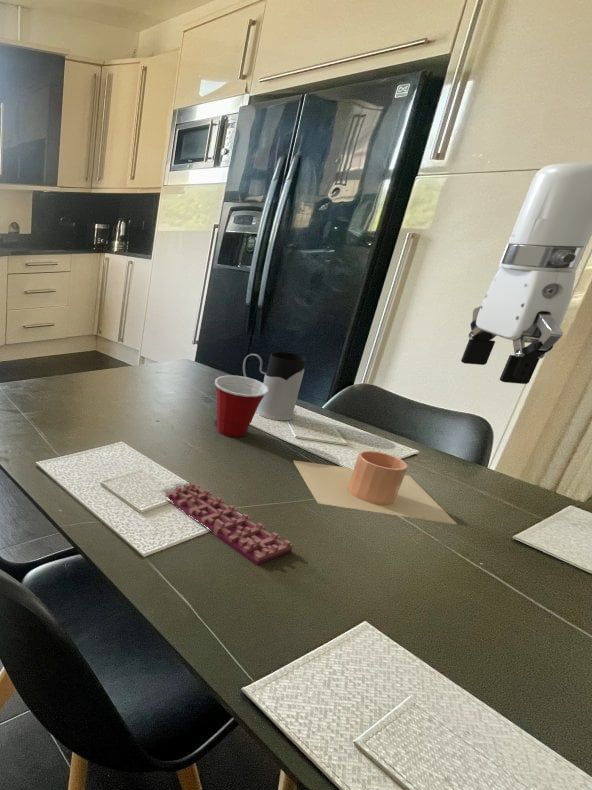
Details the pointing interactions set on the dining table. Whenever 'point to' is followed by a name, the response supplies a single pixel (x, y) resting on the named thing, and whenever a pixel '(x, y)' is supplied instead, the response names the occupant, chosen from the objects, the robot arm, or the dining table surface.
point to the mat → (333, 490)
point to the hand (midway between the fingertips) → (491, 372)
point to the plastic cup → (237, 403)
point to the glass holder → (280, 384)
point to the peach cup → (377, 477)
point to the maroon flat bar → (229, 524)
